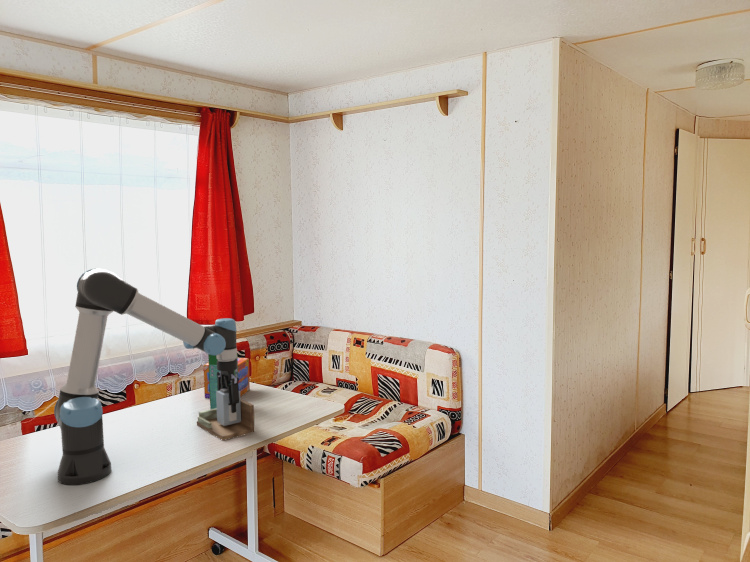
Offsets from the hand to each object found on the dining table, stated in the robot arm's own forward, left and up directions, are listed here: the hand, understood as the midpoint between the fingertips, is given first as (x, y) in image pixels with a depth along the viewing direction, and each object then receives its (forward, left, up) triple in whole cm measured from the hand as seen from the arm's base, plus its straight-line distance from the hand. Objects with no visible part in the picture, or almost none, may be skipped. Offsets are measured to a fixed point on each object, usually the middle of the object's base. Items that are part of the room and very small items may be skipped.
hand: (228, 418), depth 221 cm
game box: (+21, +42, -4) cm, 47 cm away
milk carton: (+11, +25, -4) cm, 28 cm away
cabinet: (0, 0, -1) cm, 1 cm away
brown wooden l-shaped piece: (-1, +1, -4) cm, 4 cm away
